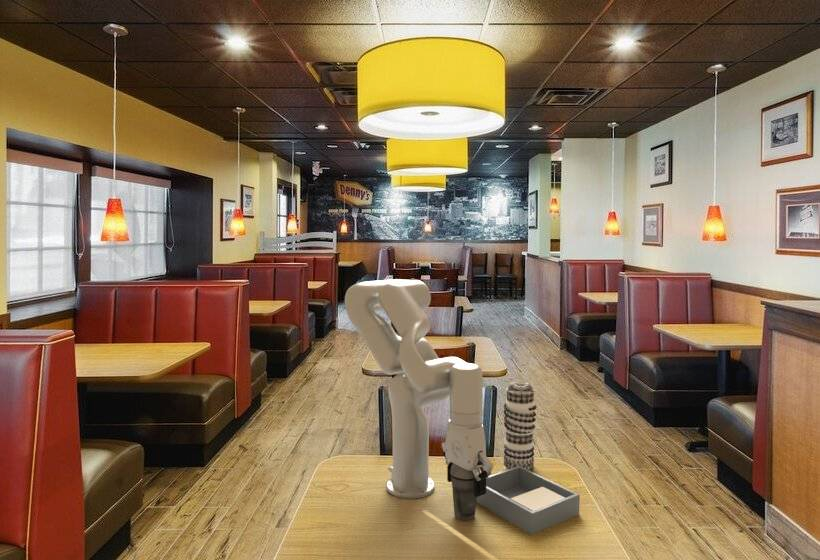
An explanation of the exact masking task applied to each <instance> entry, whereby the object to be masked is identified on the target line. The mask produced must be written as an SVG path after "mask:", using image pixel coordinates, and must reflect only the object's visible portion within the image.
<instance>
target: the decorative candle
mask: <svg viewBox="0 0 820 560" xmlns="http://www.w3.org/2000/svg"><path fill="white" fill-rule="evenodd" d="M505 390H506V398H505V402H504V404H503V409H504V410H503V415H504V417H503V420H504V422H503V426H504V431H505V438H504V445H503V448H504V449H503V450H504V451H503V454H504V455H503V471H505V470H508V469H511V468H514V467H517V466H521V467H523V468H525V469H527V470H529V471H532V469H534V467H535V464H534V463H535V457H534V455H535V452H534V450H535V446H534V438H533V437H534V433H535V430H536V429H535V428H536V425H535V424H534V422H536V420H537V418H535V417H536V416H537V413H536V412H535V410H537V408H538V407H537V405H535V392H536V389H535V388H533V386H532V384H530V383H528V382H523V381H513V382H511V383H510V384H509V386H507V387H505Z"/></svg>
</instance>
